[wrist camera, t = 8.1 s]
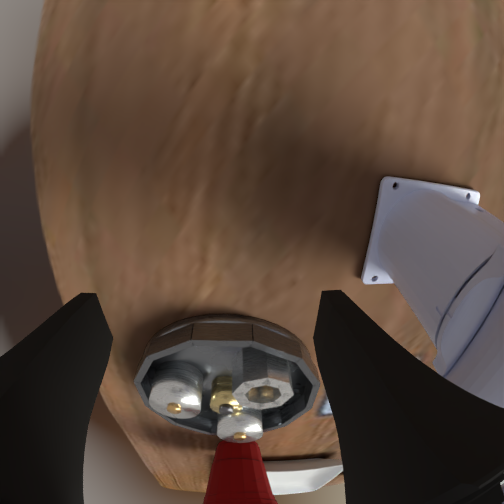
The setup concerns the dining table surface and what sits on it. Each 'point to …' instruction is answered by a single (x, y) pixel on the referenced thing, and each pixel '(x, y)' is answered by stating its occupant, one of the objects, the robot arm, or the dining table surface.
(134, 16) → the dining table surface
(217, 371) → the carrier
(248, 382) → the octagonal tube
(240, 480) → the plastic cup
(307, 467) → the salad plate
